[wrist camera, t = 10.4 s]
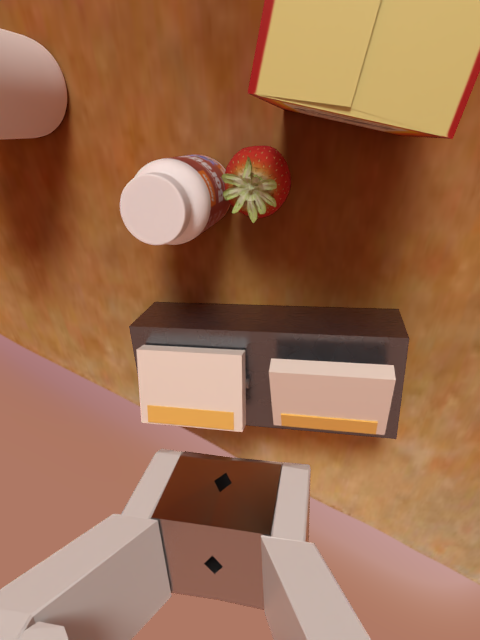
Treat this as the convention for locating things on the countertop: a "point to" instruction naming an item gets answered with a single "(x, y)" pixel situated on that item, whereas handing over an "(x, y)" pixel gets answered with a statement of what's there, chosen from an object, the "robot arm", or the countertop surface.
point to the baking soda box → (370, 62)
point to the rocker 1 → (192, 387)
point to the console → (282, 343)
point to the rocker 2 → (331, 395)
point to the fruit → (257, 181)
